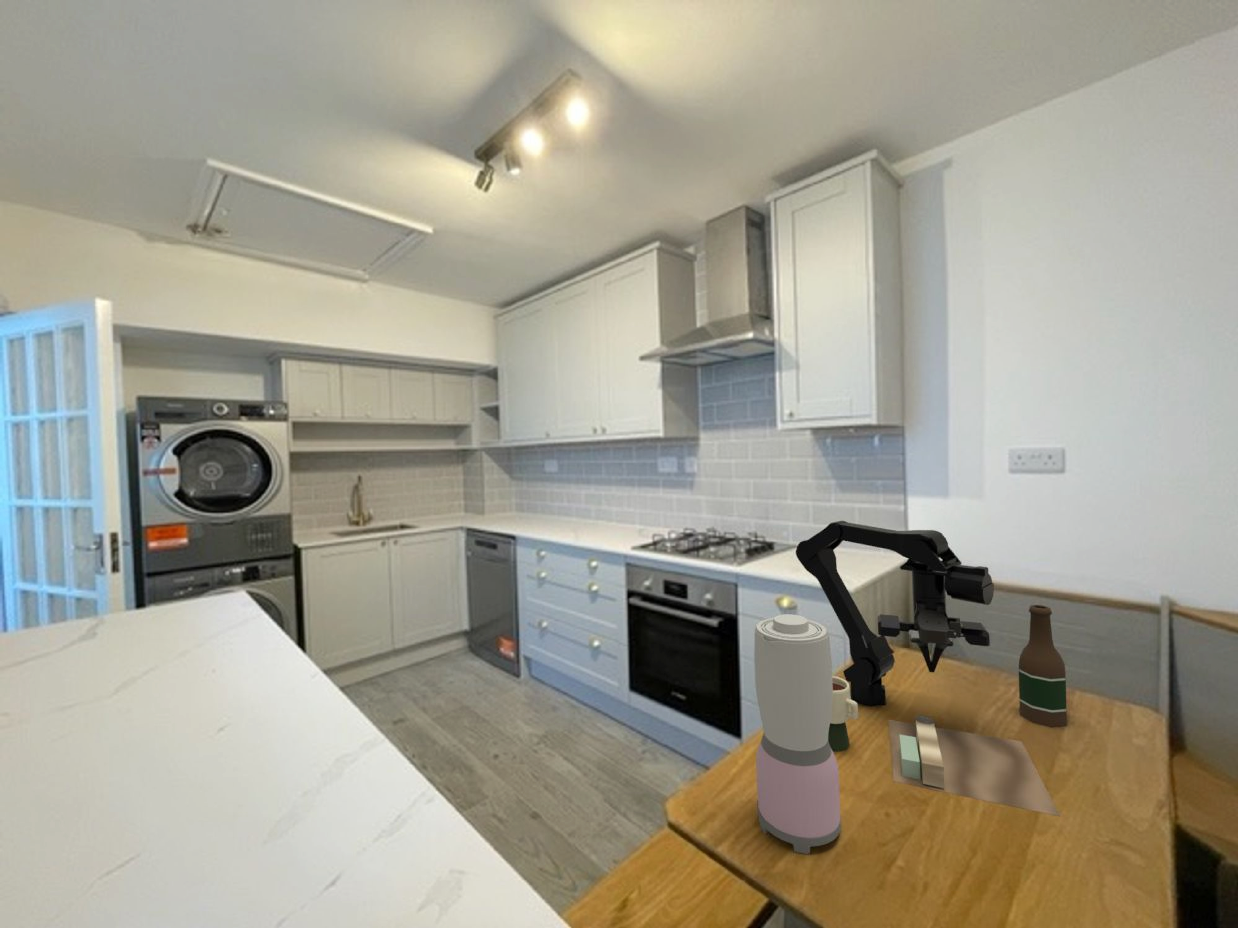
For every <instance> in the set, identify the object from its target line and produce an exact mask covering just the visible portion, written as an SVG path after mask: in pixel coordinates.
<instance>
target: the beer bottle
mask: <svg viewBox="0 0 1238 928" xmlns="http://www.w3.org/2000/svg"><path fill="white" fill-rule="evenodd" d="M1028 612H1029V613H1030V620H1029V621H1030V622H1029V639H1028V643H1027V644H1026V645H1025V647H1023V649H1022V650H1021V653H1020V655H1019V659H1018V695H1019V696H1018V698H1019V699H1018V701H1019V715H1020V717H1022V718H1024V719H1026V720H1027V721H1028V722H1030V723H1032V724H1036V725H1041V726H1044V727H1048V728H1051V729H1052V728H1053V729H1054V728H1063V727H1064V728H1066V727H1067V725H1068V724H1067V723H1068V722H1067V721H1068V720H1067V719H1068V716H1067V715H1068V713H1067V712H1068V711H1067V710H1068V709H1067V680H1066V679H1067V677H1066V676H1067V675H1066V666H1065V661H1064V659H1063V658H1062V657H1063V656H1062V655H1061V653H1060V652H1059V651H1058V650H1057V649H1056V647H1055V644H1054V640H1053V632H1052V630H1053V629H1052V621H1051V616H1052V614H1053V612H1052V609H1051V608H1050V607H1049V606H1046V605H1042V604H1033V605H1032V604H1031V605H1029V609H1028Z"/></svg>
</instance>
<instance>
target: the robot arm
mask: <svg viewBox="0 0 1238 928" xmlns="http://www.w3.org/2000/svg"><path fill="white" fill-rule="evenodd" d="M843 542H848V543H852V544H853V543H854V544H859V545H864V546H870V547H874V548H880V549H884V550H889V551H892V552H895V553H896V554H898V555H900V556H902V558H906V559H907V560H906V562H904V563H903V564H902V565H900V566H899V569H900V570H902V571H909V572H911V589H912V591H911V593H912V616H913V619H912V620H913V622H911V621H900V618H899V615H892V614H891V615H890V614H883V613H882V614H879V615H878V616H877V618H876V620H877V634H878V635H879V636H878V635H876V634H875V633H874V632H872V630H871V629H870V627H869V626H868V624H867V622H866V621H865V619H864V616H863V615H862V613H861V612H860V610H859V607H858V606H857V604H856V602H855V601H854V599H853V597H852V595H851V593H850V592H849V590H848V589H847V586H846V584H845V583H844V581H843V579H842V577H841V576H840V574H839V572H838V568H837V567H838V565H837V556H836V554H835V551H834V550H836V548H838V547H839V546H841V543H843ZM795 555H796V558H797V559H798V561H799V562H800V564H801V565H802V566H803V568H804V569H805V570H806V572H808V573H809V574H810V575H812V576H813V577H814V578H816V580H817V582H818V583H819V585H820V587H821V589H822V590H823V592H824V594H825V597H826V598H827V600H828V602H829V604H830V606H831V607H832V610H833V612H834V613H835V615H836V617H837V619H838V621H839V623H840V624H841V627H842V629H843V630H844V632H845V634H846V636H847V637H848V644H849V655H850V657H851V660H852V662H853V664H851V665H849V667H847V668H845V670H843V672H842V673H843V675H844V678H845V679H844V680H846V681H847V682H848V683H849V685H850V696H851V700H853V701H855V702H856V703H857V704H858V705H862V706H865V707H877V706H881V707H882V706H886V705H887V702H886V699H887V698H886V687H885V686H886V685H884V684H883V679H882V678H884V677H885V676H886V675H887V674H888V672H889V671H891V670H892V669H893V667H894V665H895V661H896V660H895V657H894V653H895V651H894V649H892V648H891V646H890V645H889V642H888V640H887V638H886V637H891V638H897V637H899V635H901V632H907V633H908V636H909V641H910V642H911V643H915V644H916V645H917V646H918V647H919V650H920V651H921V654H922V656H923V658H924V661H925V664H926V667H927V669H928V672H929V673H933V674H934V673H935V672H936V669H937V666H938V663H939V662H940V658H941V656H942V654H943V652H944V650H946V649H947V648H948V647H954V644H955V643H954V641H953V639H957V638H959V639H960V638H964V640H965V641H966V643H968V644H969V645H970V646H981V647H989V646H991V645H990V642H991V641H990V640H991V639H990V633H989V631H988V630H987V628H986V626H984V624H983V623H981V622H976V621H975V622H974V621H964V620H961V618H960V617H951V616H948V614H947V596H949V597H950V598H951V599H952V600H957V601H961V602H966V603H967V602H968V603H975V604H979V605H984V606H985V605H986V606H990V605H991V603H992V601H993V599H994V594H995V593H994V591H995V583H993V580H992V579H993V578H992V576H991V574H989V567H988V566H981V565H980V566H972V565H964V564H963V563H962V561H961V560H960V559H959V557H958V556H957V555H956V554H955V553H954V551H953V550H952V549H951V548H950V547H949V542H948V540H947V538H946V537H945V535H943V533H942V532H940V531H938V530H934V529H916V530H915V529H914V530H913V529H912V530H909V529H908V530H896V529H888V528H885V527H884V528H881V527H877V526H870V525H865V524H859V523H852V522H848V521H846V520H838V521H834V522H830V523H829V524H828V525H827V526H826V527H825V528H823V529H822V530H821V531H819V532H817V533H816V534H815V535H813V536H811V537H810V538H808V539H805V540H802V541H800V542H799V543H798V544H797V546H796V550H795ZM929 644H931V653H930V649H929Z"/></svg>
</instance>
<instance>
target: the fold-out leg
mask: <svg viewBox="0 0 1238 928" xmlns="http://www.w3.org/2000/svg"><path fill="white" fill-rule="evenodd" d="M914 724H915V737H916V740H917V747H918V754H919V760H920V767H921V774H922V781H923V784H927V785H931V786H936V787H941V788H944V766H943V762H942V757H941V753H940V748H939V744H938V739H937V734H936V730H935V727H936V726H935V720H934V719H933V718H931V717H929V716H926V715H916V716H914Z"/></svg>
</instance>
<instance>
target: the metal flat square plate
mask: <svg viewBox="0 0 1238 928" xmlns="http://www.w3.org/2000/svg"><path fill="white" fill-rule="evenodd" d="M887 721H888V730H889V731H888V732H889V733H888V734H889V744H890V757H891V767H892V768H891V769H892V780H893V781H892V782H893V783H894V782H895V783H899V784H904V785H909V786H913V787H919V788H923V789H928V790H933V791H937V792H942V793H946V794H952V795H955V796H961V797H966V798H971V799H976V800H980V801H985V802H989V803H993V804H999V805H1005V806H1009V807H1014V808H1018V809H1022V810H1028V811H1032V812H1033V811H1034V812H1037V813H1042V814H1047V815H1051V816H1056V817H1061V815H1060V813H1059V811H1058V809H1057V807H1056V805H1055V803H1054V802H1053V799H1052V798H1051V795H1050V793H1049V791H1048V789H1047V788H1046V786H1045V783H1044V782H1043V780H1042V778H1041V776H1040V775H1039V772H1038V770H1037V768H1036V766H1035V765H1034V762H1033V761H1032V759H1031V757H1030V754H1029V753H1028V751H1027V750H1026V747H1025V746H1024V743H1023V742H1022V741H1020V740H1016V739H1015V740H1014V739H1008V738H1002V737H996V736H992V735H991V736H990V735H985V734H978V733H973V732H965V731H960V730H959V731H958V730H953V729H947V728H942V727H936V726H935V730H936V734H937V739H938V744H939V748H940V753H941V757H942V762H943V766H944V788H941V787H936V786H931V785H927V784H923V781H922V774H921V767H920V780H919V779H914V778H909V777H904V776H903V774H902V765H901V756H900V738H899V734H900V735H905V736H911V737H915V723H910V722H905V721H900V720H892V719H888V720H887ZM916 743H917V740H916ZM917 749H918V747H917ZM918 755H919V754H918ZM919 761H920V760H919Z"/></svg>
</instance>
